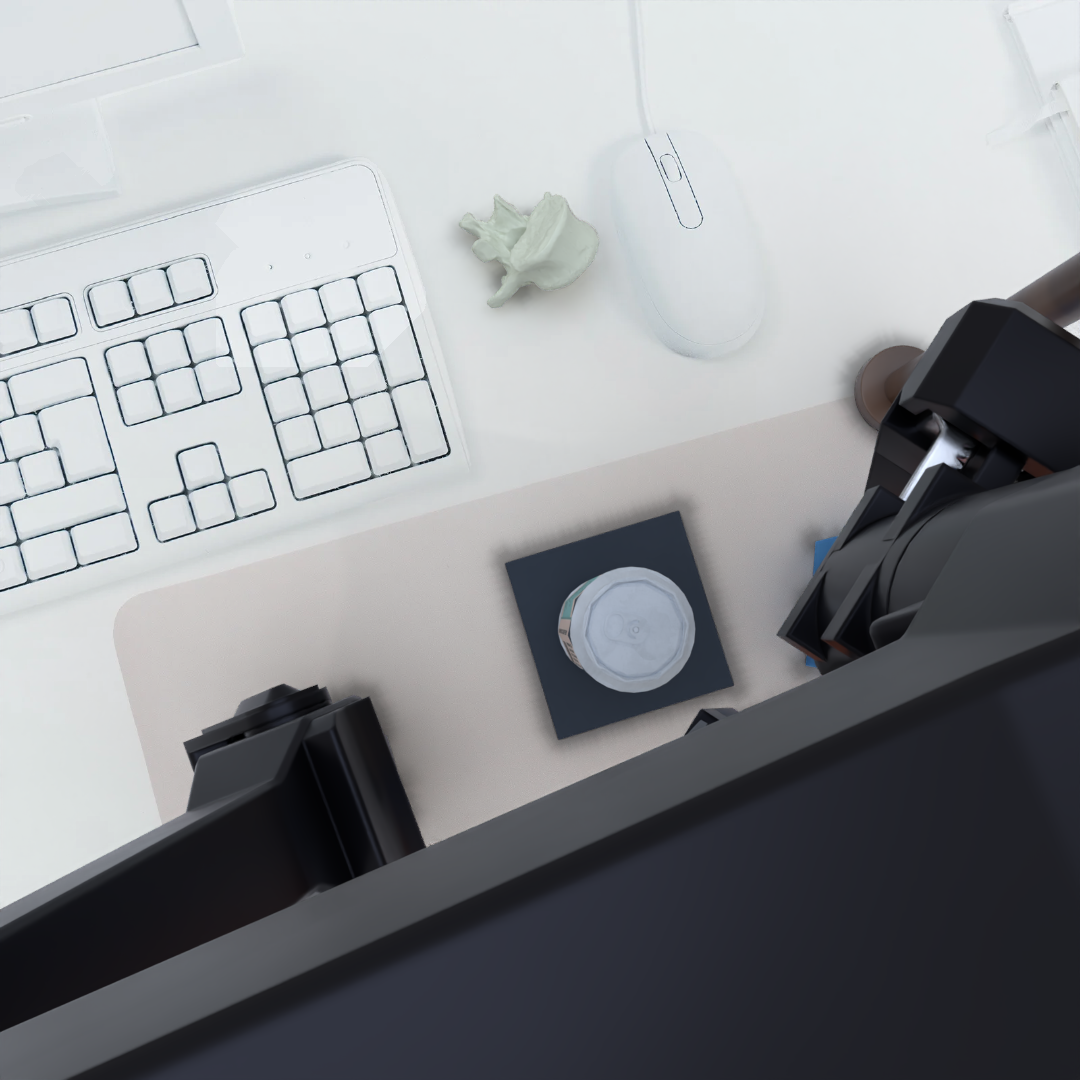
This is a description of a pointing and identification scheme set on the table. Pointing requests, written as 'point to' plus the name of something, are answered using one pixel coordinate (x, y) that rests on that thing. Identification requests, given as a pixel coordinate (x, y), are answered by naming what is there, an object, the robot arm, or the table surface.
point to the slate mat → (568, 566)
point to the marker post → (1055, 295)
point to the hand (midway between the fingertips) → (810, 617)
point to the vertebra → (533, 245)
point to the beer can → (628, 629)
